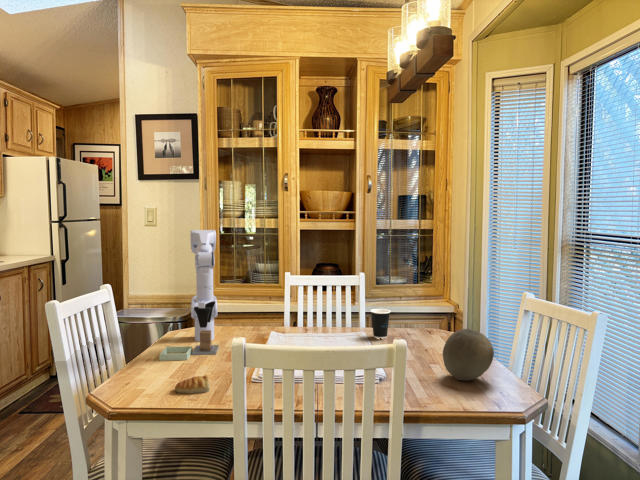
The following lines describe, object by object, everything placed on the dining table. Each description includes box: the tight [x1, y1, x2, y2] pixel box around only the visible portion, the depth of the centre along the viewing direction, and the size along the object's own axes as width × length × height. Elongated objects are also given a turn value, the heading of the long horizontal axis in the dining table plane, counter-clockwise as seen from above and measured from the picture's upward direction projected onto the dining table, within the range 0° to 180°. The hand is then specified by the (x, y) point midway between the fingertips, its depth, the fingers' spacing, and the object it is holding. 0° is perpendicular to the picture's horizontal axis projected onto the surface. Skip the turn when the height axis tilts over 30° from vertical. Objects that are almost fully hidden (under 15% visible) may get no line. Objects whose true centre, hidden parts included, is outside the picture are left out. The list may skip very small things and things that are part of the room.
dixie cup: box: [370, 308, 391, 339], centre depth 185 cm, size 8×8×11 cm
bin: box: [158, 345, 193, 362], centre depth 157 cm, size 9×9×3 cm
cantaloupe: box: [442, 328, 495, 382], centre depth 139 cm, size 14×14×15 cm
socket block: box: [191, 344, 220, 356], centre depth 163 cm, size 8×8×2 cm
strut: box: [199, 330, 212, 350], centre depth 163 cm, size 3×3×7 cm
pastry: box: [174, 374, 211, 395], centre depth 130 cm, size 9×7×4 cm
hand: (205, 324), depth 162 cm, fingers open, 7 cm apart
